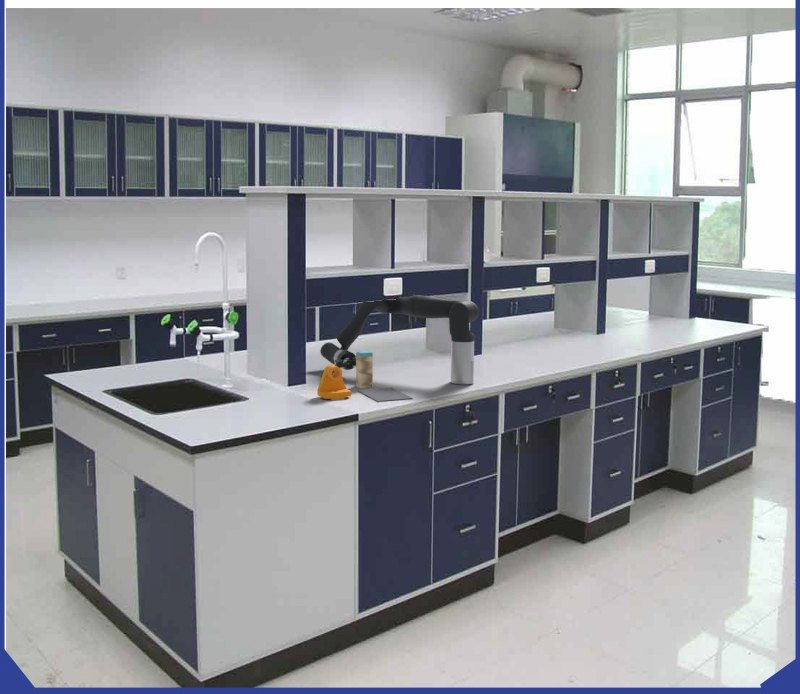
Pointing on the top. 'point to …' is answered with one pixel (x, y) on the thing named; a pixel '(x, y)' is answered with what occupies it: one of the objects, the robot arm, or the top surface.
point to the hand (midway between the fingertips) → (358, 365)
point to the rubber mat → (385, 394)
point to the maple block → (364, 369)
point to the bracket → (332, 384)
